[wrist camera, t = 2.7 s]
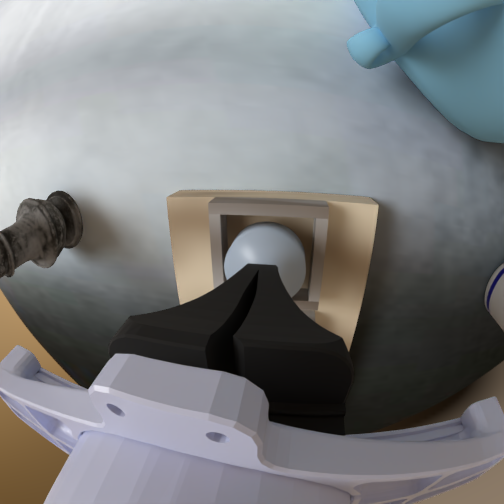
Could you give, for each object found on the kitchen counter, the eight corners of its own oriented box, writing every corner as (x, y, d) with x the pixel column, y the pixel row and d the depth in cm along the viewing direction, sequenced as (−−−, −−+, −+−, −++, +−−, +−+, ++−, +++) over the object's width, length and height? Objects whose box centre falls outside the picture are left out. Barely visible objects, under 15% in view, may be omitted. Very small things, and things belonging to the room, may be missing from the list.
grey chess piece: (79, 185, 18) (-46, 242, 7) (90, 253, 20) (-11, 335, 10) (39, 189, 19) (-64, 238, 8) (50, 248, 21) (-39, 312, 10)
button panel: (325, 402, 24) (326, 430, 20) (207, 392, 25) (198, 418, 22) (369, 197, 16) (386, 211, 12) (179, 190, 17) (155, 203, 14)
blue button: (301, 291, 15) (302, 307, 14) (232, 286, 16) (226, 301, 14) (307, 223, 14) (308, 234, 12) (229, 220, 14) (222, 229, 13)
